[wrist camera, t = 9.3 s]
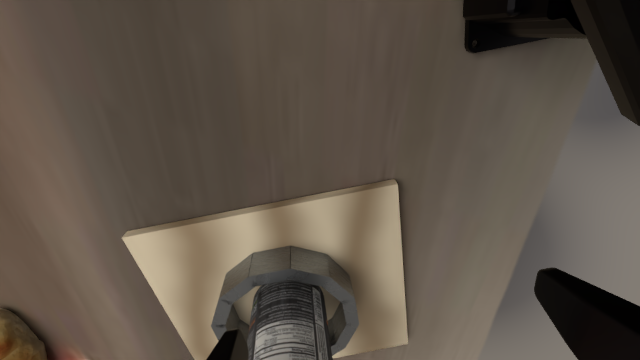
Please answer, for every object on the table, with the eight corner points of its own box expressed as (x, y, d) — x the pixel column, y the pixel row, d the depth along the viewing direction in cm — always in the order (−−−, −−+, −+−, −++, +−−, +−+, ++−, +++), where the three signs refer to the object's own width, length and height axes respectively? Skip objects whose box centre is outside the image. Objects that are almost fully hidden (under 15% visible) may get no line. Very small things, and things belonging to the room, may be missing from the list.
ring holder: (394, 179, 22) (410, 201, 19) (405, 336, 30) (417, 369, 27) (127, 231, 22) (101, 262, 19) (210, 374, 30) (201, 411, 27)
